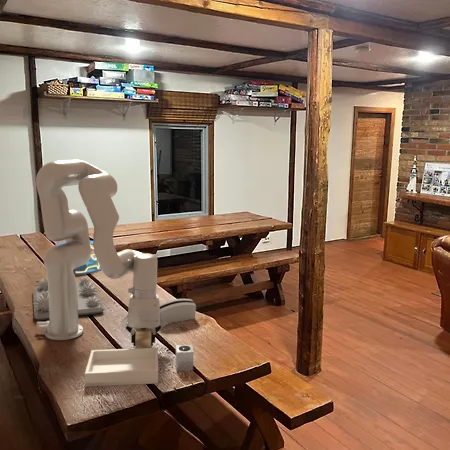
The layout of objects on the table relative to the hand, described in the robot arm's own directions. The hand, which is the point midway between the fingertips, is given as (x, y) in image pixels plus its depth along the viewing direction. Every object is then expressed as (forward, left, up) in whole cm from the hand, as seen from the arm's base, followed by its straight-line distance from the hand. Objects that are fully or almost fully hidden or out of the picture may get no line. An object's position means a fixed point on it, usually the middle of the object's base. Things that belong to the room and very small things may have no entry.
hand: (143, 343), depth 149 cm
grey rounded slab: (+11, +22, -2) cm, 25 cm away
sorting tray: (-5, -15, -2) cm, 16 cm away
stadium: (-36, +100, -2) cm, 106 cm away
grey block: (+13, -13, -2) cm, 18 cm away
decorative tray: (-32, +44, -2) cm, 55 cm away
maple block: (0, 0, -1) cm, 1 cm away
